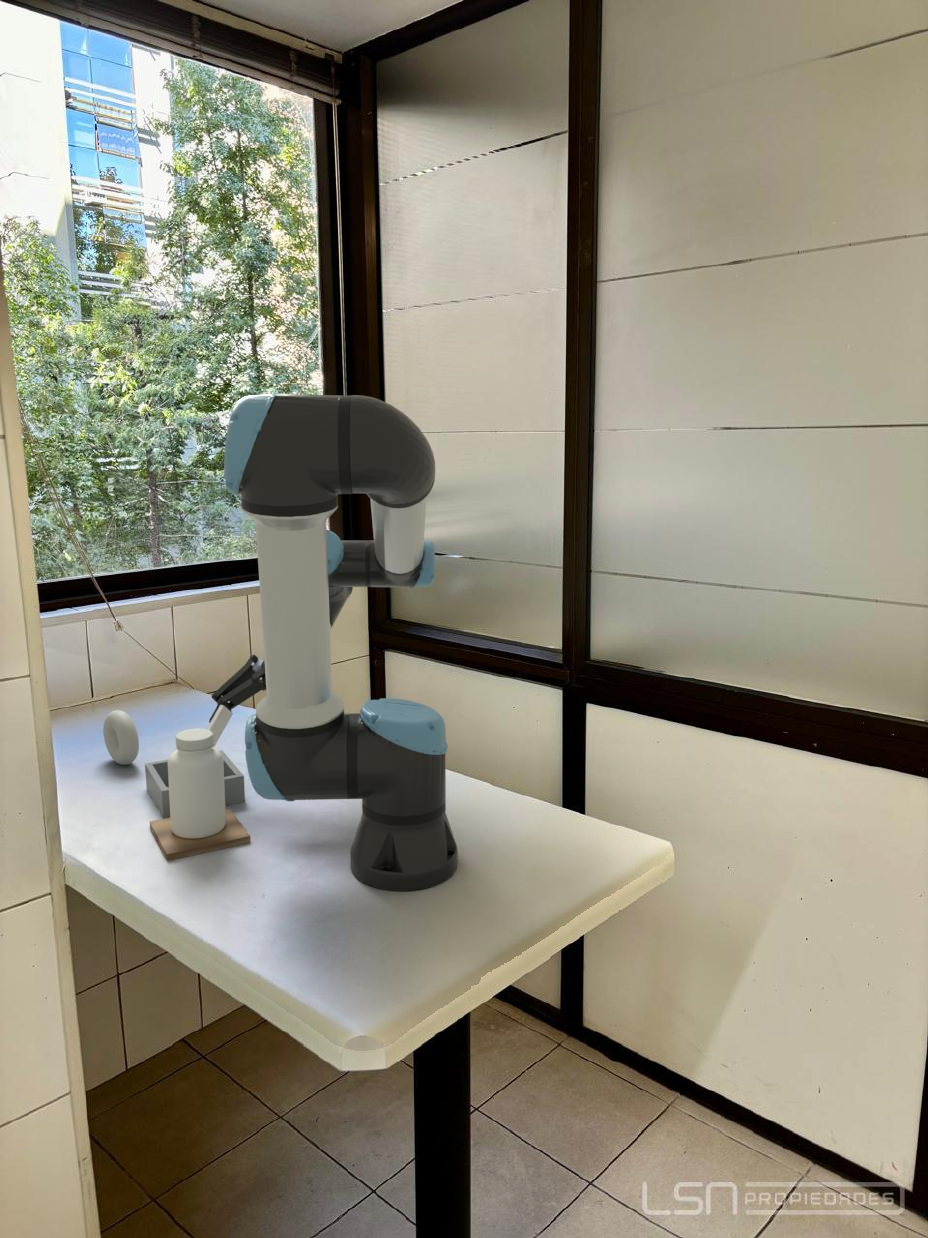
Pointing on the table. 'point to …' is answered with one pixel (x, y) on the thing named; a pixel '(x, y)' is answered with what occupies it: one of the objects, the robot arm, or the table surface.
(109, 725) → the donut
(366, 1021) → the table surface
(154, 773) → the sleeve
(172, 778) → the pill bottle
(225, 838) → the pad
